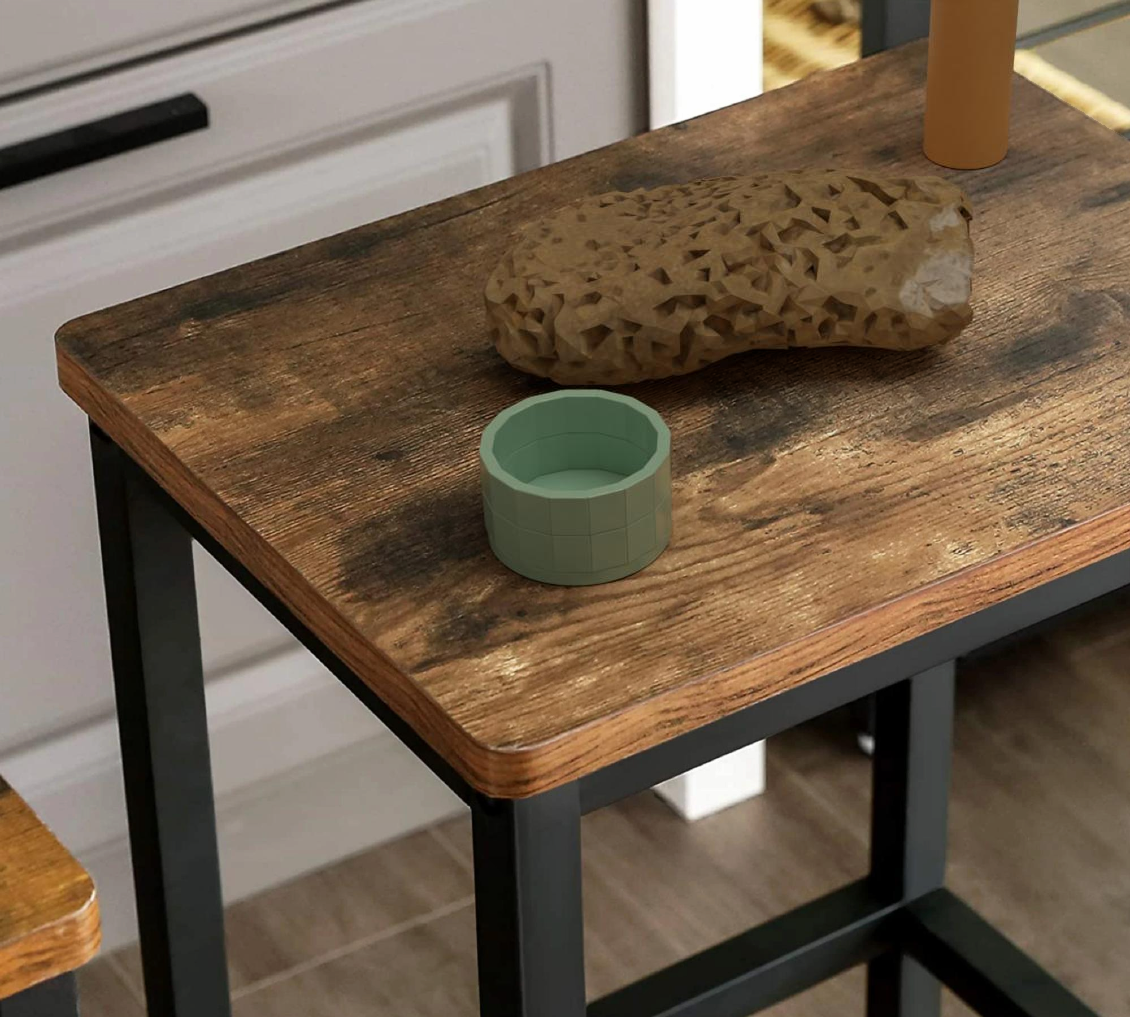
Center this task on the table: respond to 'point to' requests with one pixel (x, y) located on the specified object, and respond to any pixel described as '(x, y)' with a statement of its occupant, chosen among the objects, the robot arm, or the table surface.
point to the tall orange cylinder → (969, 81)
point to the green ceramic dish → (577, 486)
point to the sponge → (733, 273)
